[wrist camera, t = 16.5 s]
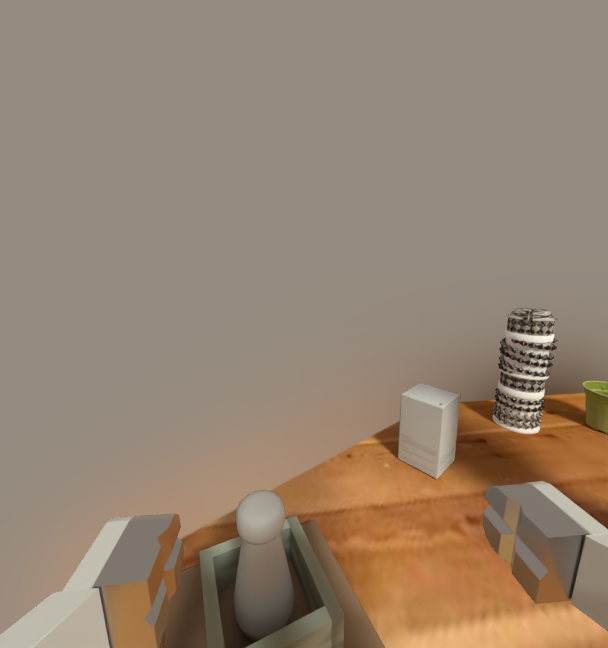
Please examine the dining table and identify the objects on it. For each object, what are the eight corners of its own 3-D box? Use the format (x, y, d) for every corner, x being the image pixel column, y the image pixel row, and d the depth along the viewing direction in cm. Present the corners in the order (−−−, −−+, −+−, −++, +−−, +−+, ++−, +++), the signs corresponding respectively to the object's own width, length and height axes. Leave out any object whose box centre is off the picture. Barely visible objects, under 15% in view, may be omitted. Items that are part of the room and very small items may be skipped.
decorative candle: (554, 433, 60) (576, 312, 55) (512, 436, 59) (531, 314, 54) (517, 411, 69) (533, 305, 63) (481, 413, 68) (494, 306, 63)
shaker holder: (314, 525, 39) (314, 490, 38) (395, 676, 25) (399, 627, 24) (166, 584, 32) (161, 543, 31) (161, 842, 18) (151, 783, 17)
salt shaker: (232, 595, 30) (224, 486, 27) (286, 577, 32) (283, 472, 29) (238, 669, 25) (228, 541, 22) (302, 641, 26) (301, 520, 24)
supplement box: (455, 460, 52) (463, 394, 49) (436, 481, 47) (443, 408, 44) (416, 442, 57) (421, 381, 55) (395, 458, 53) (399, 393, 50)
